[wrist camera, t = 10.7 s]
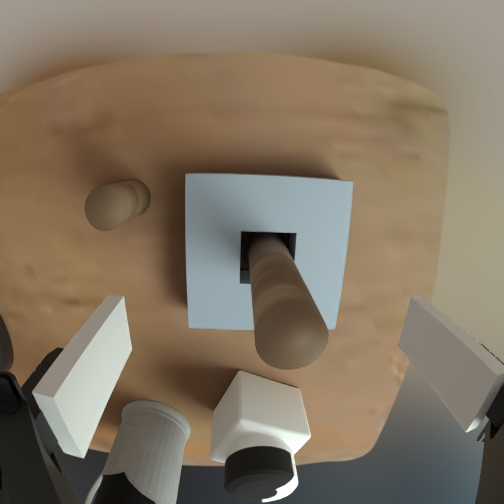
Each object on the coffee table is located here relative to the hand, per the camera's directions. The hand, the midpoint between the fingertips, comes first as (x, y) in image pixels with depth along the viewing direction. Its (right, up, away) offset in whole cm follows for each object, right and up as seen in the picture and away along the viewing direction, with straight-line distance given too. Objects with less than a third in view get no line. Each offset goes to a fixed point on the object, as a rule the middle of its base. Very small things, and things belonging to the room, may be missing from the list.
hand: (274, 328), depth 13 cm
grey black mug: (-15, -19, +19) cm, 31 cm away
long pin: (0, +4, +13) cm, 13 cm away
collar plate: (0, +4, +13) cm, 13 cm away
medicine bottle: (-1, -13, +17) cm, 22 cm away
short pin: (-11, +8, +11) cm, 17 cm away
